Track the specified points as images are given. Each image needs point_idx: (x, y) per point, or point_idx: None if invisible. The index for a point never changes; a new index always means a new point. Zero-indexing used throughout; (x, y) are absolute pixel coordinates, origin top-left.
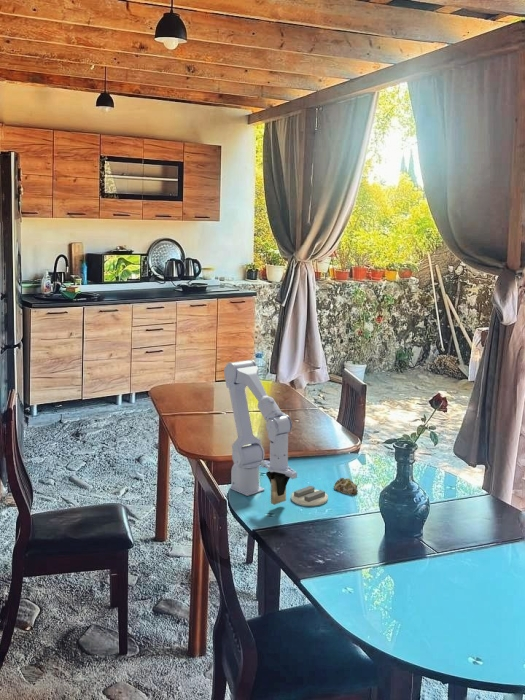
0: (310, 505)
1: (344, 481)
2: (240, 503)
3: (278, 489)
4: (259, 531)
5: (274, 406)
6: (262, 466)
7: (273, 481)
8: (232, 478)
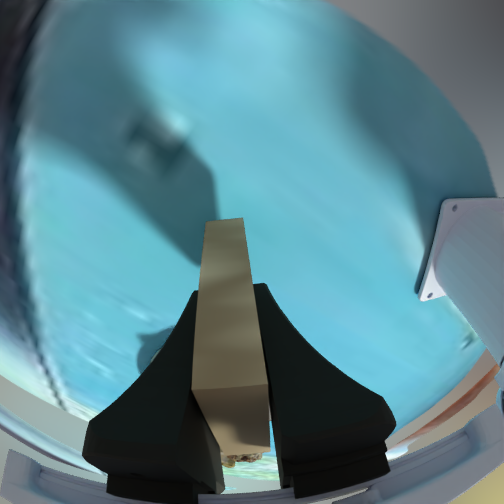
0: (154, 356)
1: (232, 459)
2: (413, 107)
3: (179, 327)
4: (26, 3)
5: None
6: (486, 420)
7: (212, 375)
8: None
